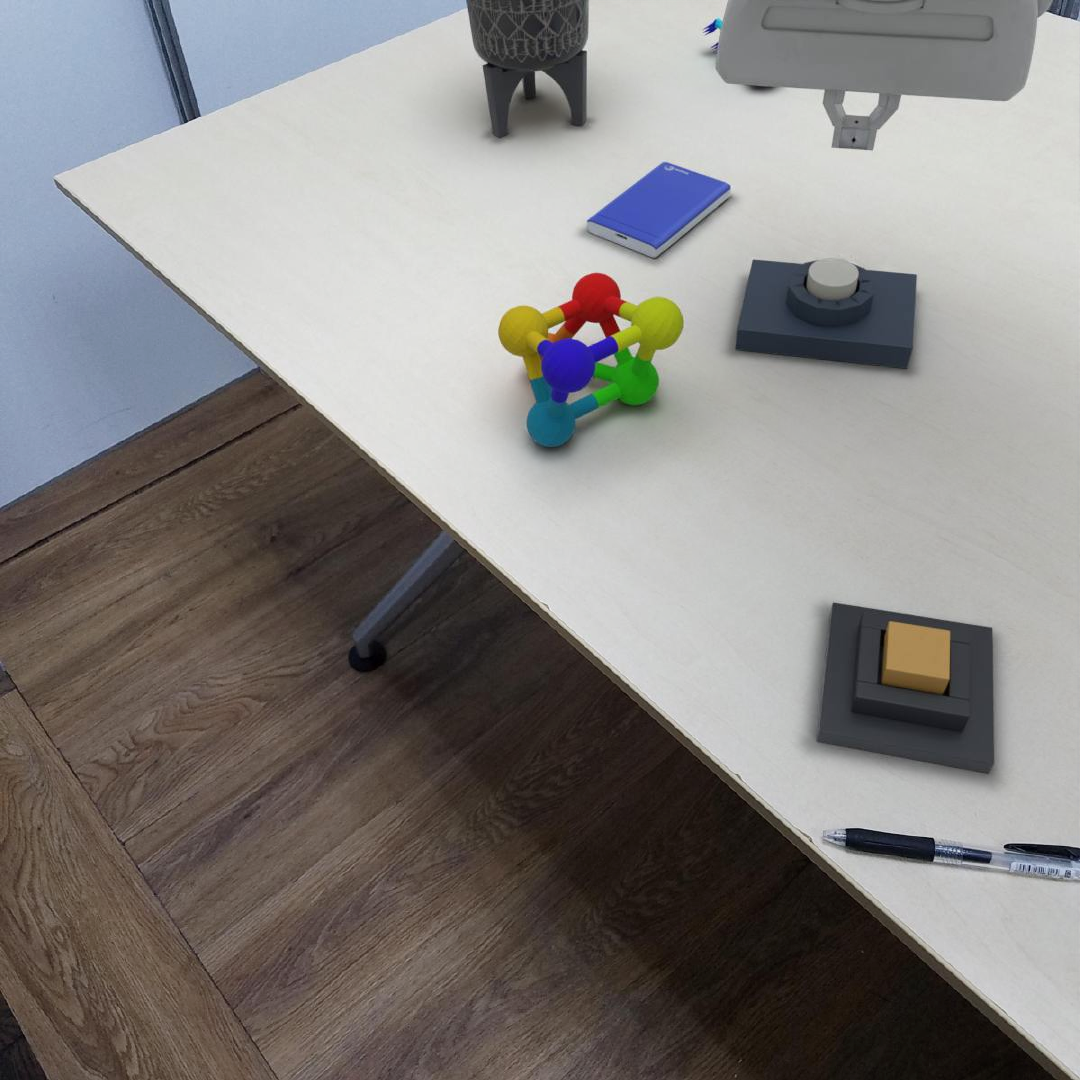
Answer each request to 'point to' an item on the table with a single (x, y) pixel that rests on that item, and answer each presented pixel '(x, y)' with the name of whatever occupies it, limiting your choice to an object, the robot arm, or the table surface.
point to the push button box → (828, 316)
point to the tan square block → (916, 657)
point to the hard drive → (659, 209)
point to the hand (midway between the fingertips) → (852, 145)
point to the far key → (832, 279)
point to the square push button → (907, 693)
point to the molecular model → (587, 353)
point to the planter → (530, 51)
